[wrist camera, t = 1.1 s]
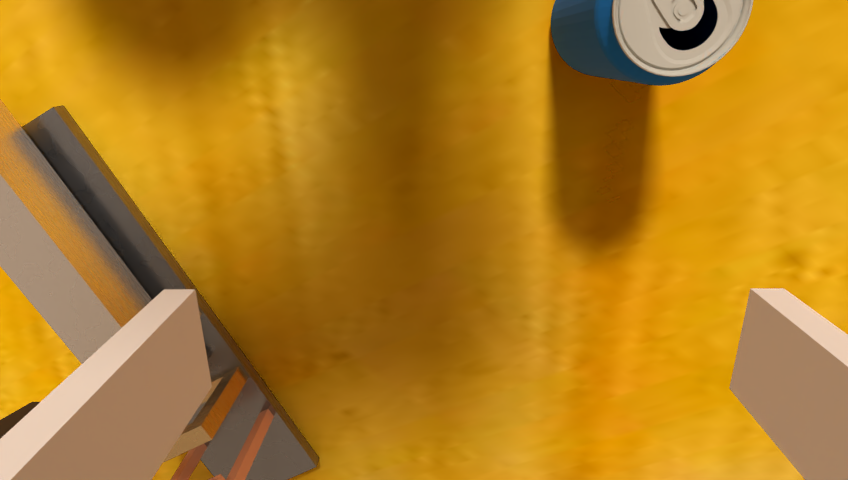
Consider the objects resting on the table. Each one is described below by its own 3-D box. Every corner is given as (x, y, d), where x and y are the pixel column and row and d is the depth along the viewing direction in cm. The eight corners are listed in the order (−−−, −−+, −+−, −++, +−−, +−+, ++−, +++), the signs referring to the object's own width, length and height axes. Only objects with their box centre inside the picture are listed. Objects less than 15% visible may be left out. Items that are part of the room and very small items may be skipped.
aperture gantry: (185, 433, 43) (125, 521, 35) (260, 397, 42) (217, 480, 34) (207, 461, 44) (154, 553, 36) (281, 427, 43) (244, 514, 35)
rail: (-26, 162, 38) (-142, 189, 30) (63, 105, 36) (-36, 119, 29) (239, 493, 46) (199, 579, 39) (319, 458, 45) (294, 540, 37)
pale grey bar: (-50, 126, 35) (-111, 135, 31) (-2, 94, 34) (-58, 100, 30) (160, 389, 41) (130, 424, 37) (204, 367, 40) (179, 400, 36)
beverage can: (585, 97, 35) (653, 118, 24) (527, 10, 34) (572, -10, 22) (675, 30, 34) (793, 19, 22) (619, -63, 32) (716, -125, 21)
